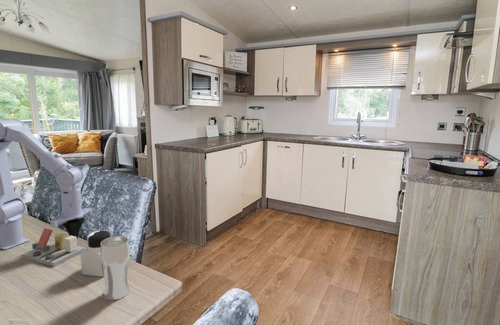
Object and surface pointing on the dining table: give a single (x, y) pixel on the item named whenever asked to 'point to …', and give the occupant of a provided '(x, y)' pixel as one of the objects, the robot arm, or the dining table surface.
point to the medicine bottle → (93, 254)
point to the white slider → (70, 243)
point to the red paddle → (44, 238)
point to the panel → (51, 254)
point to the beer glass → (115, 266)
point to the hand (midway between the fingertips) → (74, 238)
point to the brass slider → (60, 241)
